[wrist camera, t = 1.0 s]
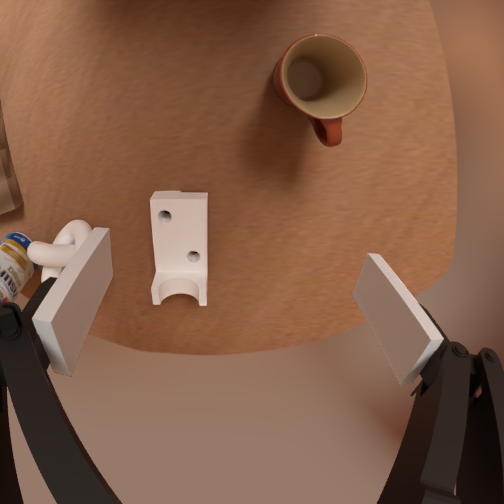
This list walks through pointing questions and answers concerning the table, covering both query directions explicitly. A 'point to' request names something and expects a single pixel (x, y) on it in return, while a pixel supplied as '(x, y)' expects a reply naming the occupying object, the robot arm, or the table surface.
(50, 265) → the white knot
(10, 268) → the beverage bottle
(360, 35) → the table surface
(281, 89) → the mug
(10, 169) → the lane board
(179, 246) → the bracket
